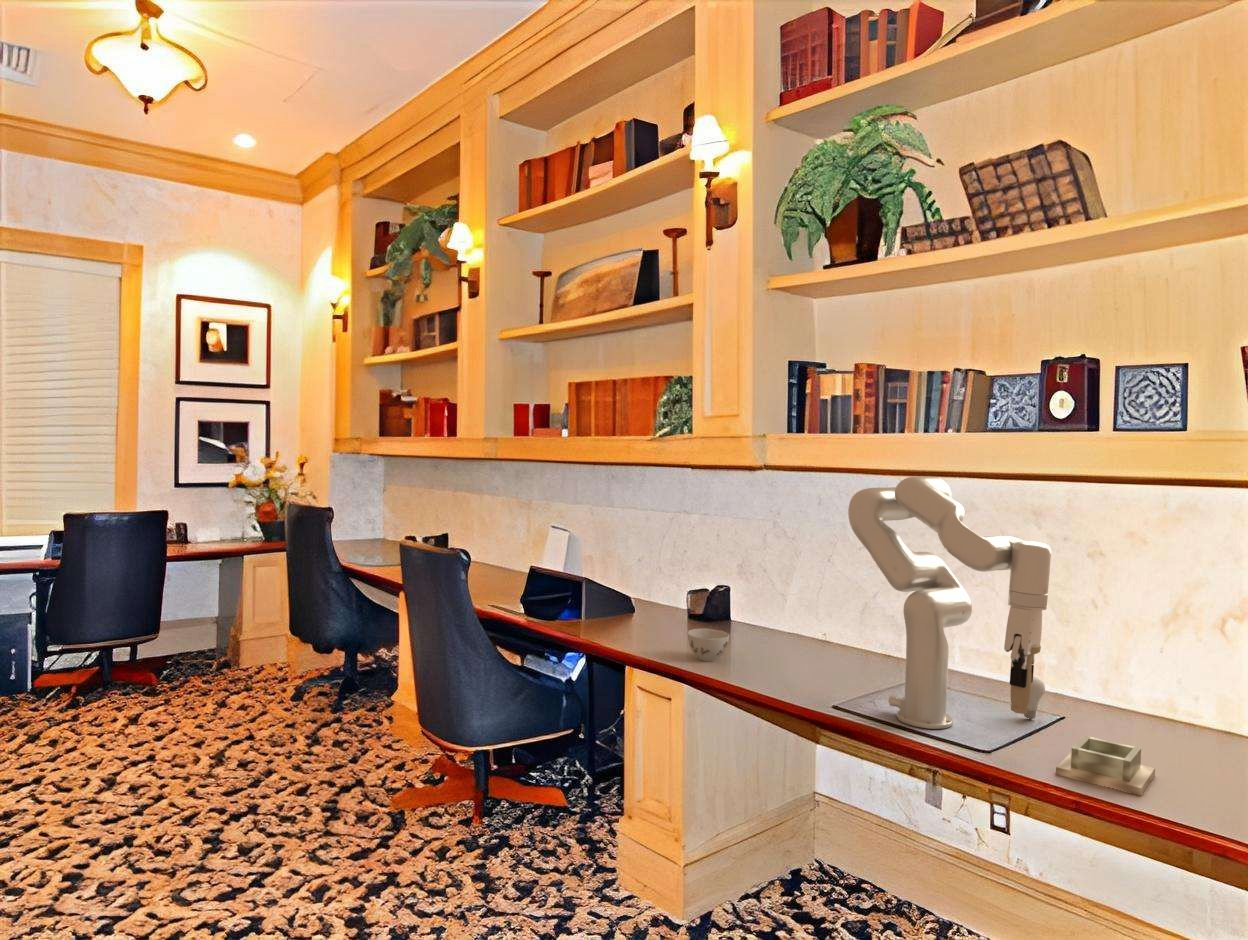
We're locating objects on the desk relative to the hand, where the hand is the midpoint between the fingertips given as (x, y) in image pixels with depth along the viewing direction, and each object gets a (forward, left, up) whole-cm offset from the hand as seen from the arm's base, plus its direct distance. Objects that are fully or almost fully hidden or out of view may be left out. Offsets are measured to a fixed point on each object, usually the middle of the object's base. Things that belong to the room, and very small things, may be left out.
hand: (1021, 683), depth 185 cm
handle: (0, 0, -7) cm, 7 cm away
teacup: (-93, +18, -15) cm, 96 cm away
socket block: (+17, 0, -15) cm, 23 cm away
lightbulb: (-5, +27, -15) cm, 31 cm away
